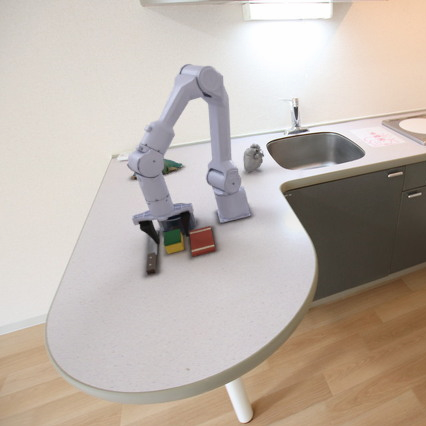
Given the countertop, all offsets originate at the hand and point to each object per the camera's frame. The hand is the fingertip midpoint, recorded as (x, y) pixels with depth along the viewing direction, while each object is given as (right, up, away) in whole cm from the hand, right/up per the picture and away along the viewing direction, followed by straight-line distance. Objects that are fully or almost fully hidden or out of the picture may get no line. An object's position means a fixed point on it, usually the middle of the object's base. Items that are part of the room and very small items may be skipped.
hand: (173, 238), depth 86 cm
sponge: (0, -2, +1) cm, 3 cm away
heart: (+13, +25, +43) cm, 51 cm away
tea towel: (+7, -1, +3) cm, 8 cm away
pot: (-3, +3, +9) cm, 10 cm away
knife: (-6, -3, 0) cm, 6 cm away
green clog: (-27, +24, +45) cm, 58 cm away
